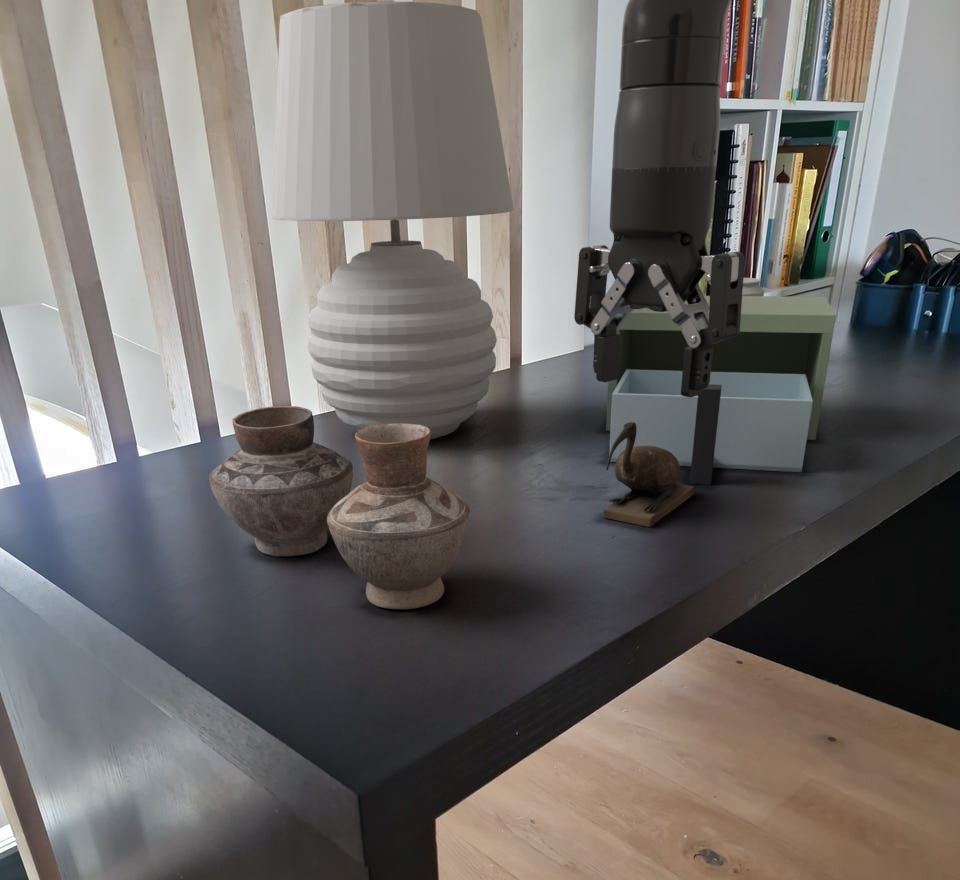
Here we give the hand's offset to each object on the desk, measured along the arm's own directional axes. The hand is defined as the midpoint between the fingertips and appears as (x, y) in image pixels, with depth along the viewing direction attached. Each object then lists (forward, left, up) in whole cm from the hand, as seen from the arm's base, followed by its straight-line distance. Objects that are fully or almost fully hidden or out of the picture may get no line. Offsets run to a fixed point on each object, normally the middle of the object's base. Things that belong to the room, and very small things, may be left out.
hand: (647, 387), depth 70 cm
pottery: (+10, +25, -11) cm, 29 cm away
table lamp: (+37, -4, -11) cm, 39 cm away
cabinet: (+13, -31, -11) cm, 35 cm away
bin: (+5, -18, -11) cm, 21 cm away
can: (+29, -61, -11) cm, 68 cm away
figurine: (0, 0, -11) cm, 11 cm away
